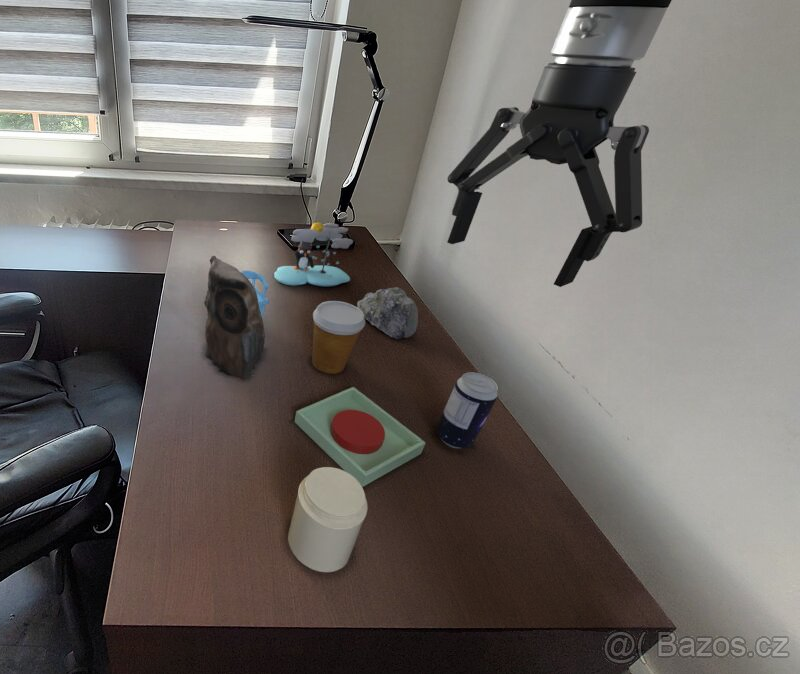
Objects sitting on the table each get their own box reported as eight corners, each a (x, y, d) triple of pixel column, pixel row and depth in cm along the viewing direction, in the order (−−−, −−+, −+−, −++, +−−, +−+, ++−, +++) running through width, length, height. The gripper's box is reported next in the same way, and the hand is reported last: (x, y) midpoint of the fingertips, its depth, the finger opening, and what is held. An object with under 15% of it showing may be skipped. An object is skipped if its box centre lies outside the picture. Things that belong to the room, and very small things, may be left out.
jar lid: (338, 410, 79) (341, 402, 78) (387, 429, 75) (390, 421, 74) (323, 440, 73) (325, 432, 72) (375, 462, 70) (378, 454, 69)
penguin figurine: (276, 288, 117) (284, 232, 108) (270, 270, 126) (277, 216, 117) (353, 290, 117) (367, 234, 109) (342, 271, 126) (354, 218, 118)
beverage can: (473, 456, 72) (504, 399, 65) (434, 445, 74) (460, 388, 67) (469, 431, 76) (498, 375, 70) (433, 422, 78) (457, 367, 71)
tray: (421, 453, 72) (426, 442, 71) (361, 487, 66) (365, 476, 65) (350, 397, 83) (353, 386, 81) (294, 421, 77) (296, 411, 76)
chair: (239, 336, 98) (244, 287, 91) (222, 318, 104) (225, 270, 97) (270, 329, 101) (276, 281, 94) (251, 311, 107) (256, 264, 100)
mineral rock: (353, 309, 109) (362, 271, 104) (398, 310, 109) (410, 272, 104) (368, 339, 99) (380, 299, 93) (418, 341, 99) (433, 300, 93)
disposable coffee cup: (362, 368, 90) (377, 316, 83) (329, 385, 85) (342, 331, 79) (326, 345, 96) (337, 295, 90) (293, 359, 92) (303, 307, 85)
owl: (247, 385, 85) (258, 289, 73) (185, 367, 89) (187, 274, 77) (266, 349, 94) (278, 260, 83) (210, 334, 98) (214, 247, 87)
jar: (364, 553, 58) (385, 501, 52) (317, 584, 54) (334, 532, 49) (320, 505, 64) (335, 454, 58) (275, 531, 60) (286, 479, 54)
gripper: (454, 54, 52) (402, 232, 64) (750, 73, 35) (603, 313, 46) (493, 55, 55) (437, 224, 67) (781, 72, 38) (636, 297, 50)
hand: (504, 261), depth 57 cm, fingers open, 13 cm apart
